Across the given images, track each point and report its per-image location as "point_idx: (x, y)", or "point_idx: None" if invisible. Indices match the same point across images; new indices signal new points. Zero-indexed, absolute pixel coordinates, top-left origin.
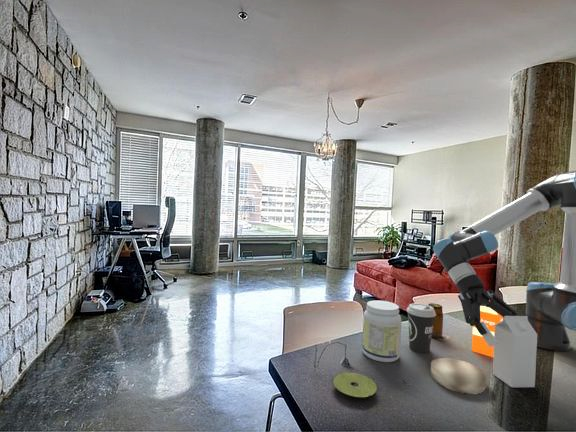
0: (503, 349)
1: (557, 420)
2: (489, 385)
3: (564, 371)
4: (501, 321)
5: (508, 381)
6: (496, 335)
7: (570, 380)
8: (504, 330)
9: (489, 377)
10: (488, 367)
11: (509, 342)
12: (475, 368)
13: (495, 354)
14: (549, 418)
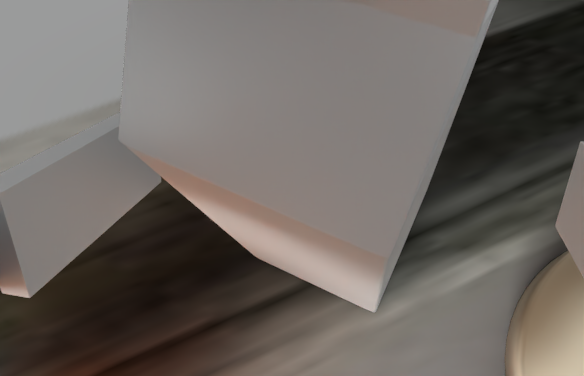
0: (423, 190)
1: (499, 4)
2: (518, 256)
3: (4, 160)
4: (441, 115)
5: (421, 202)
6: (396, 248)
7: (85, 113)
8: (451, 111)
9: (427, 303)
10: (305, 372)
11: (459, 99)
12: (559, 334)
13: (387, 279)
14: (517, 19)
